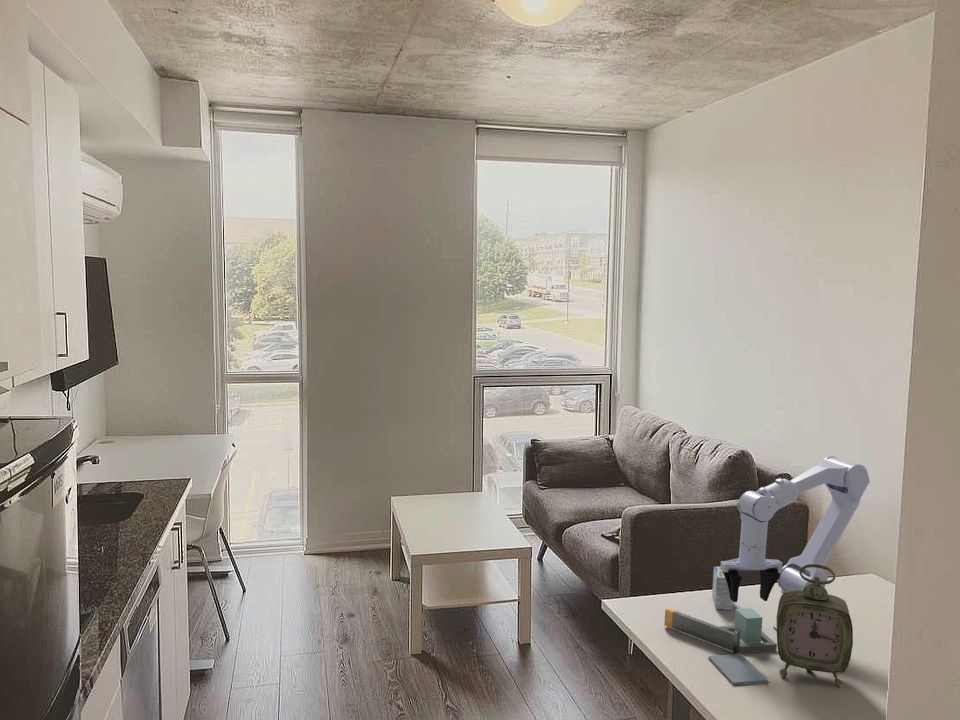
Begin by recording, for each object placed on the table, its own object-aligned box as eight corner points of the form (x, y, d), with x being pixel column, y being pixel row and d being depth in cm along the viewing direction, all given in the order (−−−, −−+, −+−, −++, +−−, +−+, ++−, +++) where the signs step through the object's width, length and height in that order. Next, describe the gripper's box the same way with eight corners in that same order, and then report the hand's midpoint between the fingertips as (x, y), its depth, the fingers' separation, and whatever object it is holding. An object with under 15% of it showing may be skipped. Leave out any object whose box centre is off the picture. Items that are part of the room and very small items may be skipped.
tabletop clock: (773, 678, 161) (781, 566, 158) (773, 659, 169) (780, 551, 166) (848, 693, 156) (858, 577, 153) (844, 672, 164) (853, 561, 161)
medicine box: (732, 611, 193) (734, 578, 192) (714, 609, 194) (716, 577, 193) (729, 598, 201) (730, 567, 200) (711, 596, 202) (713, 565, 201)
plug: (750, 634, 181) (752, 606, 180) (764, 647, 175) (766, 618, 174) (730, 636, 180) (732, 608, 179) (743, 648, 174) (745, 619, 173)
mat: (741, 656, 170) (741, 653, 170) (767, 682, 159) (767, 679, 159) (708, 658, 169) (708, 656, 169) (732, 685, 158) (732, 682, 158)
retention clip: (667, 624, 184) (668, 605, 184) (740, 652, 171) (741, 632, 171) (664, 626, 183) (665, 607, 183) (737, 654, 170) (738, 634, 170)
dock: (753, 630, 183) (754, 624, 183) (776, 650, 173) (776, 644, 173) (719, 632, 181) (719, 626, 181) (740, 653, 172) (740, 646, 171)
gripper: (772, 537, 180) (767, 591, 181) (715, 538, 177) (711, 593, 179) (789, 547, 173) (784, 604, 174) (730, 549, 170) (726, 606, 172)
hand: (748, 599), depth 176 cm, fingers open, 7 cm apart
